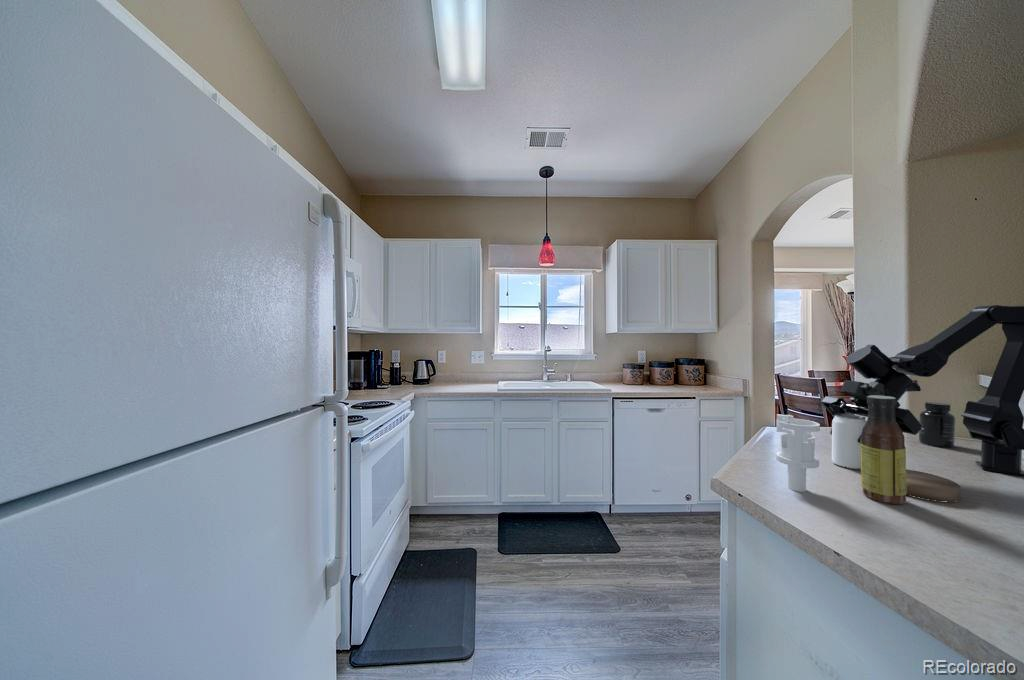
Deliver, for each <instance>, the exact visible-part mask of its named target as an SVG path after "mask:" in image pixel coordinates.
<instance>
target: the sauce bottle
mask: <svg viewBox="0 0 1024 680" xmlns="http://www.w3.org/2000/svg"><path fill="white" fill-rule="evenodd" d="M867 403H868V417H867V420H866V424H865V425H864V427H863V429H862V434H861V439H860V441H861V470H860V476H861V478H860V479H861V483H860V484H861V487H862V493H863V495H865V496H866V497H868V498H869V499H871V500H873V501H877V502H881V503H886V504H890V505H891V504H892V505H903V504H906V501H907V497H906V496H907V495H906V494H907V484H906V469H907V458H906V457H907V456H906V455H907V454H906V453H907V450H906V449H907V448H906V446H905V440H906V439H905V434H904V432H902V430H901V428H900V427H899V426H898V424H897V423H896V417H895V406H896V404H897V402H896V398H895V397H890V396H879V395H870V396H867Z"/></svg>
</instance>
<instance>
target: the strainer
mask: <svg viewBox="0 0 1024 680" xmlns="http://www.w3.org/2000/svg"><path fill="white" fill-rule="evenodd" d="M820 430H821V424H820V423H819V422H817V421H813V420H808V419H802V418H794V415H792V414H779V413H778V414H777V413H776V432H778V433H781V434H780V450H779V451H777V452H775V453H776V454H775V460H776V461H778V462H779V463H781V464H783V465H786V466H787V483H786V485H787V488H788V489H789V490H791V491H795V492H798V493H799V492H801V493H802V492H806V491H807V469H817V468H819V467H820V460H819V458H817V457H816V456H815V446H816V445H815V441H816V439H815V438H816V437H815V436H814V435H812V433H814V432H819V431H820Z"/></svg>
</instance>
